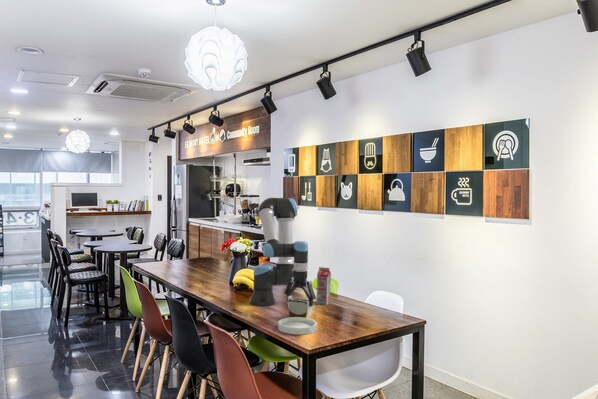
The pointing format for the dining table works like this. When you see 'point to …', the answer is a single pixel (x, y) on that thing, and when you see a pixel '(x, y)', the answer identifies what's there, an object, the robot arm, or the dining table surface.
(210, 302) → the dining table surface
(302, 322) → the round tray
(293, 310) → the food container
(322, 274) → the juice carton
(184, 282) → the dining table surface
